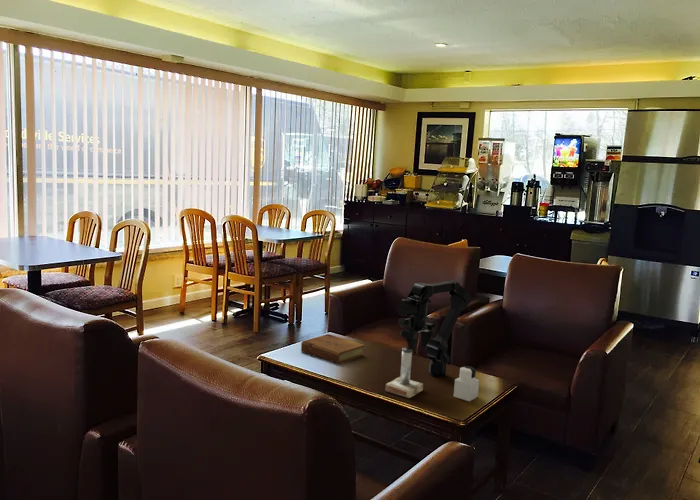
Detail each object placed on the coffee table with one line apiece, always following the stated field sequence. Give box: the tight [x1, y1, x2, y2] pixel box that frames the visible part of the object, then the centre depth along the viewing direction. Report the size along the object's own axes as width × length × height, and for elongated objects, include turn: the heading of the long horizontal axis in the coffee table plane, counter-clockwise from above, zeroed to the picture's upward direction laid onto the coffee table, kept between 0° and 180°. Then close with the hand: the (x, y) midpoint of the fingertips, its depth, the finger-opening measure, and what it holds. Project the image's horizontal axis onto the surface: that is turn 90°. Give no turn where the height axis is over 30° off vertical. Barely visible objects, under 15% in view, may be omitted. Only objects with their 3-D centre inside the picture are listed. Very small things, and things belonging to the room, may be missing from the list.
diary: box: [300, 333, 365, 365], centre depth 270 cm, size 23×19×6 cm
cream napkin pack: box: [384, 376, 424, 399], centre depth 229 cm, size 11×11×3 cm
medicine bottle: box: [453, 365, 480, 402], centre depth 226 cm, size 7×7×12 cm
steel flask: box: [399, 346, 414, 385], centre depth 228 cm, size 4×4×14 cm
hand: (417, 349), depth 240 cm, fingers open, 9 cm apart
